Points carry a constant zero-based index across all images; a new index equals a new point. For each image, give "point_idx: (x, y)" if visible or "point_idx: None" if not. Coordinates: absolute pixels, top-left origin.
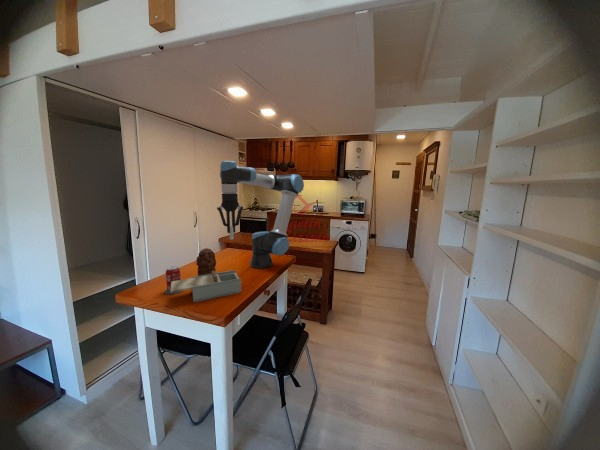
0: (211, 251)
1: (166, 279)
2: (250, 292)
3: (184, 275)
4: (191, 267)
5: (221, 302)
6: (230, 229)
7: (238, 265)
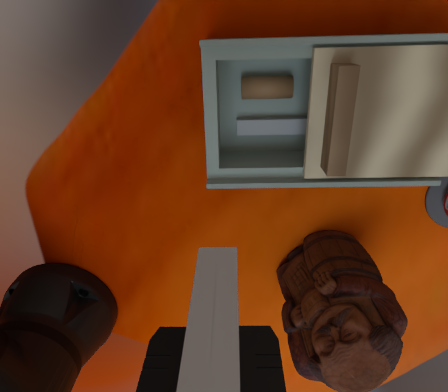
0: (324, 359)
1: None
2: (161, 19)
3: None
4: None
5: None
6: (235, 366)
7: None
